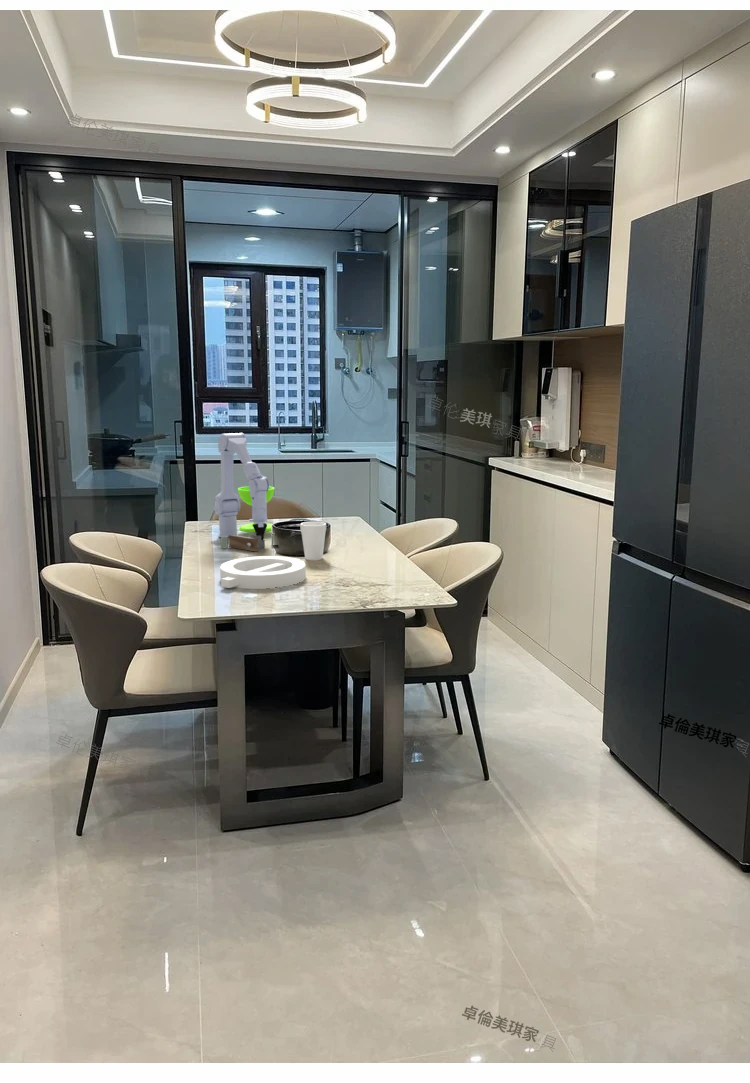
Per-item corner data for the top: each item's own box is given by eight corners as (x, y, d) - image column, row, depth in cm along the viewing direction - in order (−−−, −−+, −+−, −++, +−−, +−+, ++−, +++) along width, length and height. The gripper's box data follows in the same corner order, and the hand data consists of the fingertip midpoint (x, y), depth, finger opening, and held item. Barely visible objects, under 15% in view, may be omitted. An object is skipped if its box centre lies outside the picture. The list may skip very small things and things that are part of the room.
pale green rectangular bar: (221, 547, 312) (220, 536, 311) (278, 545, 317) (277, 533, 316) (221, 548, 311) (220, 536, 310) (278, 545, 315) (278, 534, 314)
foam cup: (296, 557, 294) (295, 523, 291) (317, 554, 299) (316, 520, 297) (310, 562, 287) (309, 527, 284) (331, 559, 292) (331, 524, 289)
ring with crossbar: (221, 592, 248) (220, 577, 247) (220, 571, 275) (219, 557, 274) (310, 587, 253) (310, 573, 253) (300, 567, 280) (300, 554, 279)
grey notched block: (254, 545, 315) (254, 533, 314) (264, 546, 315) (264, 533, 314) (248, 549, 307) (248, 537, 306) (258, 550, 307) (258, 537, 306)
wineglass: (283, 527, 354) (282, 487, 350) (259, 533, 340) (258, 491, 337) (255, 524, 362) (254, 485, 358) (231, 529, 349) (230, 489, 345)
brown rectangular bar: (231, 546, 312) (231, 534, 311) (258, 550, 305) (257, 538, 304) (226, 547, 310) (226, 535, 309) (253, 551, 302) (252, 539, 301)
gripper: (248, 505, 319) (249, 538, 321) (249, 511, 305) (251, 546, 308) (265, 505, 320) (266, 538, 323) (268, 510, 306) (269, 545, 309)
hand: (260, 541), depth 315 cm, fingers closed, pressing on grey notched block
